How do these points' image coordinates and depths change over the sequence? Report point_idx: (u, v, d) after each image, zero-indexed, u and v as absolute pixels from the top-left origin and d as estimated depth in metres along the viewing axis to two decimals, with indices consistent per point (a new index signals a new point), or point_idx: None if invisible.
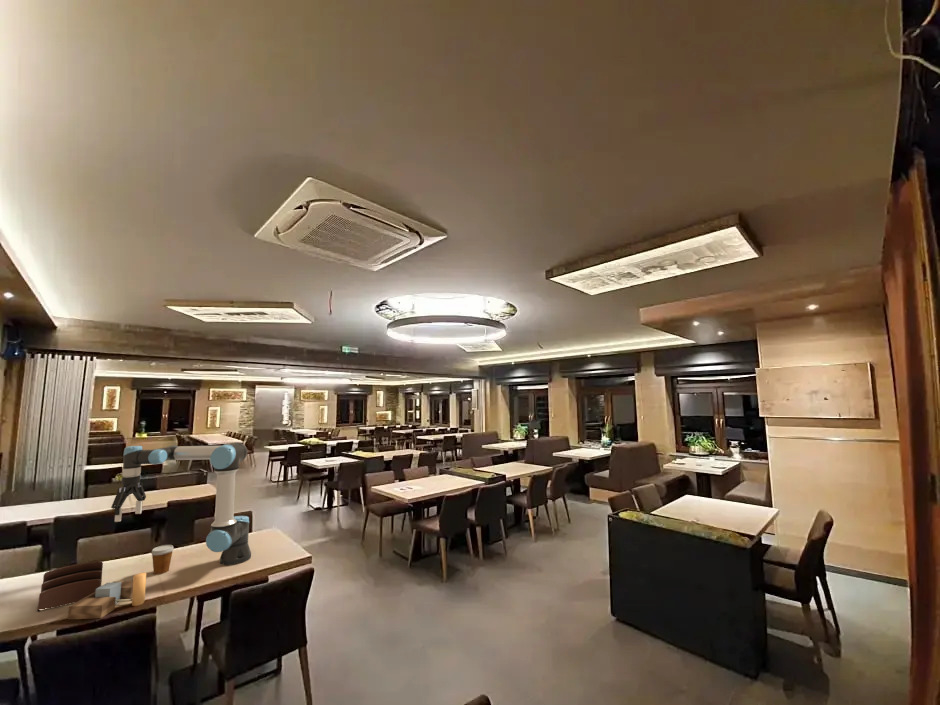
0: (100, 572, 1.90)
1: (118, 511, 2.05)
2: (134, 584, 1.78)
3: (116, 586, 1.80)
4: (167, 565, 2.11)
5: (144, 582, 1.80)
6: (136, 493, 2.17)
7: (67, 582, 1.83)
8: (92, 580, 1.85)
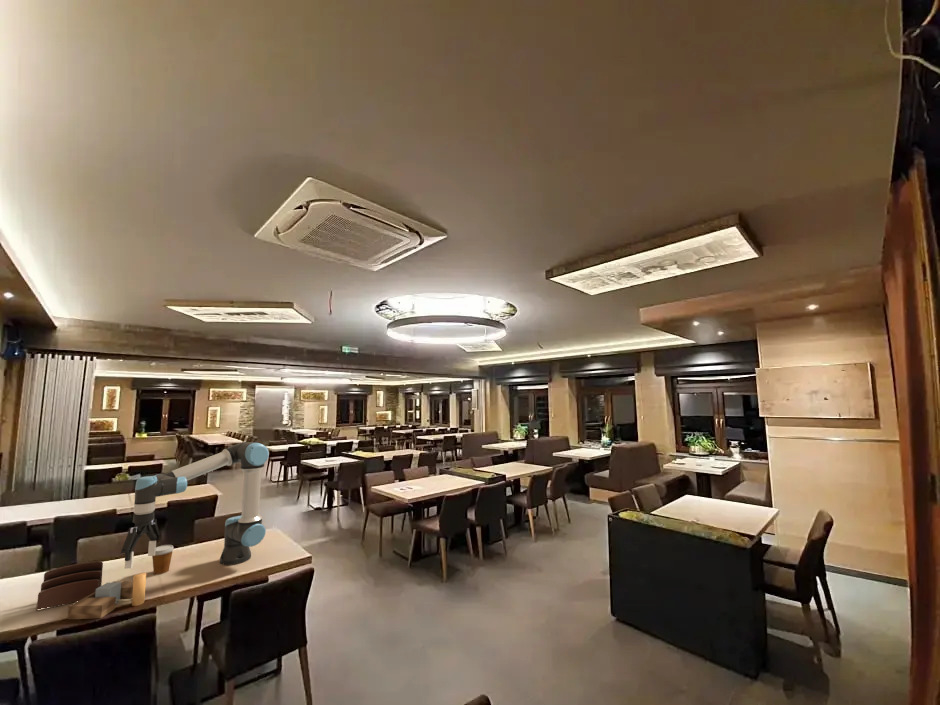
0: (99, 572, 1.90)
1: (128, 556, 1.73)
2: (134, 584, 1.78)
3: (116, 586, 1.80)
4: (167, 565, 2.11)
5: (144, 582, 1.80)
6: (149, 532, 1.85)
7: (67, 582, 1.83)
8: (91, 580, 1.85)
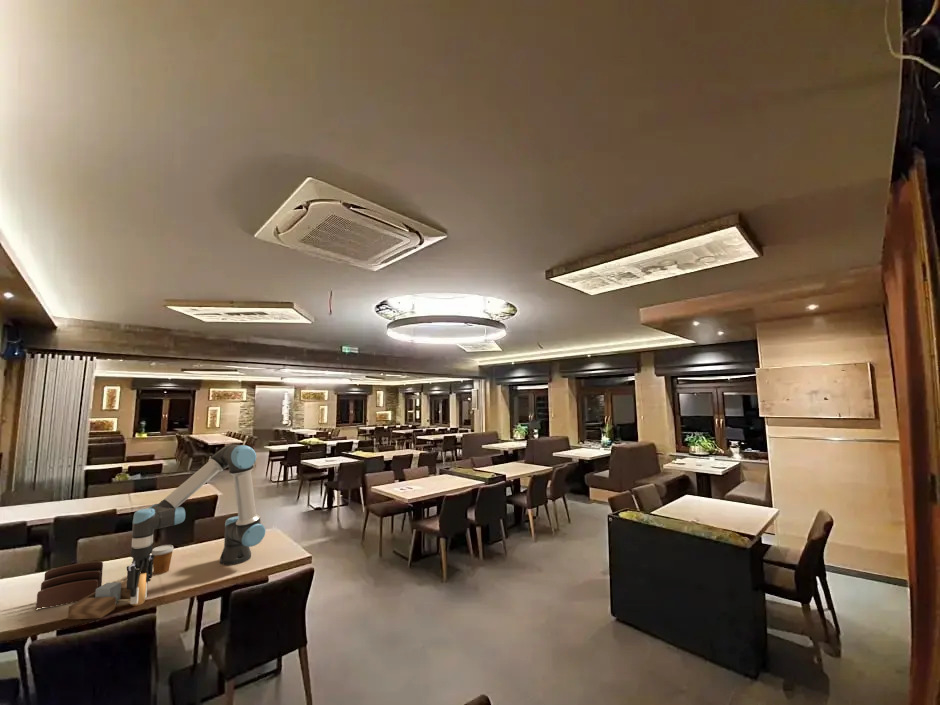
0: (99, 572, 1.89)
1: (134, 592, 1.76)
2: None
3: (116, 586, 1.80)
4: (167, 565, 2.11)
5: (144, 582, 1.80)
6: (144, 568, 1.82)
7: (66, 581, 1.83)
8: (89, 580, 1.84)
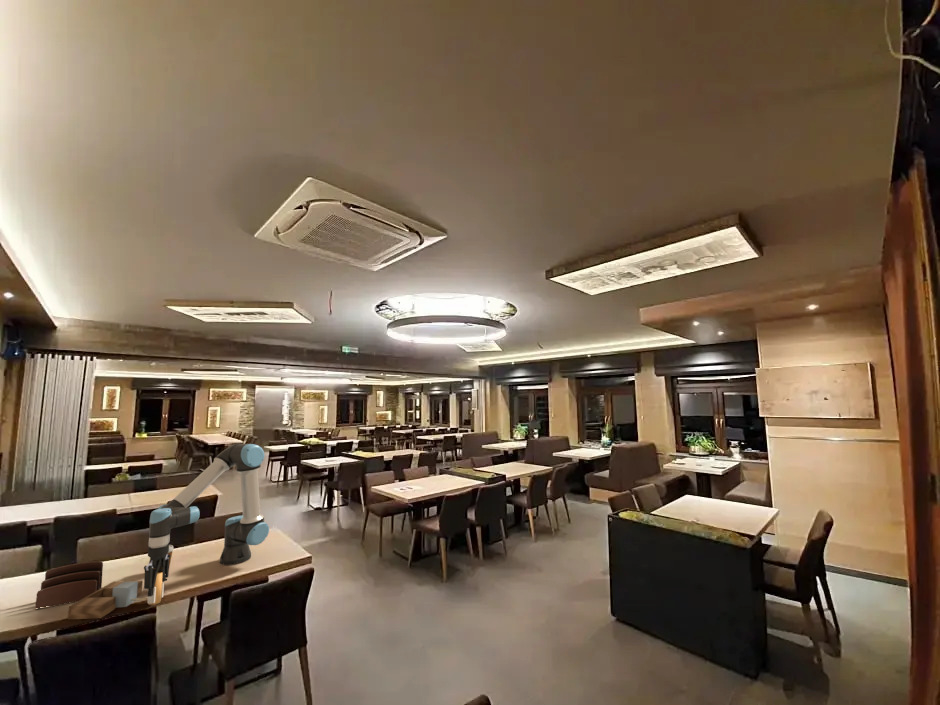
0: (98, 573, 1.89)
1: (151, 591, 1.76)
2: None
3: (133, 585, 1.80)
4: None
5: (160, 581, 1.80)
6: (161, 568, 1.82)
7: (66, 581, 1.84)
8: (88, 581, 1.84)
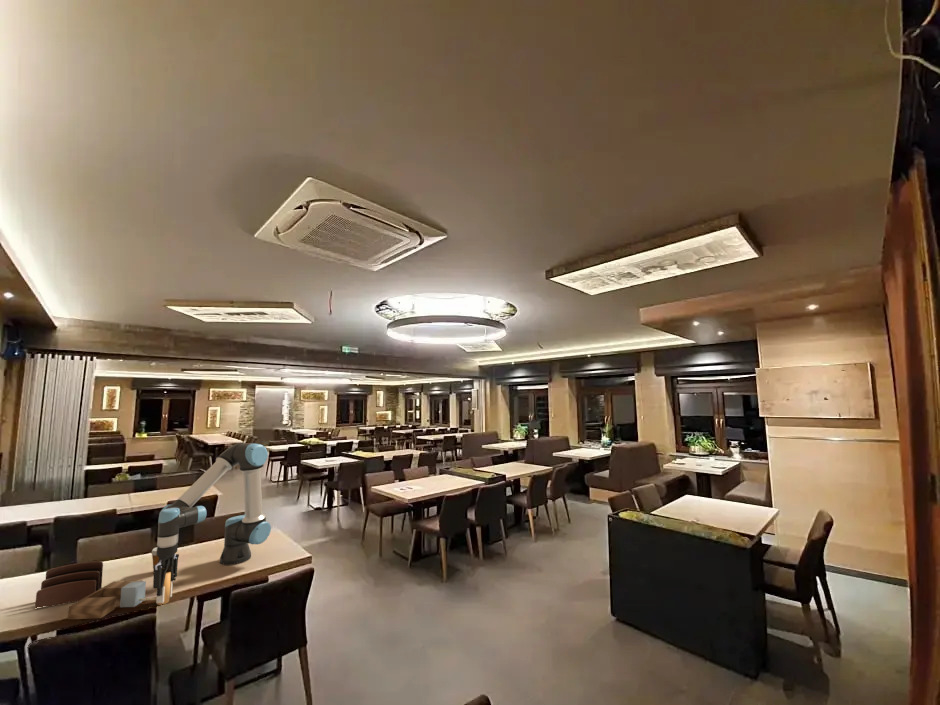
0: (98, 573, 1.89)
1: (160, 591, 1.76)
2: None
3: (141, 585, 1.80)
4: None
5: (168, 581, 1.80)
6: (170, 567, 1.83)
7: (66, 581, 1.84)
8: (88, 581, 1.84)
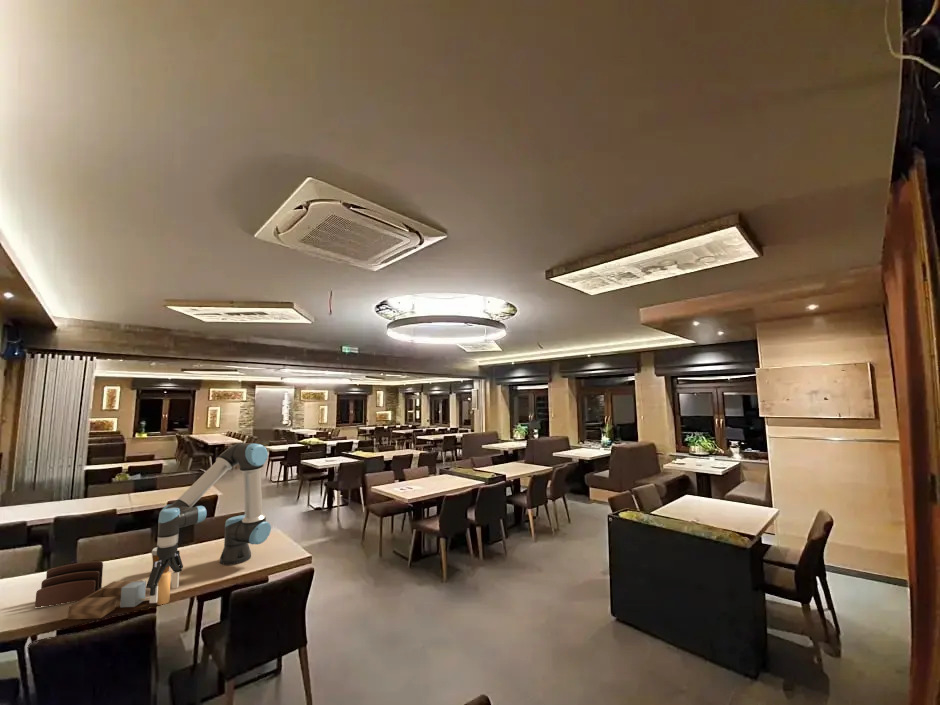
0: (97, 573, 1.89)
1: (153, 590, 1.72)
2: (159, 583, 1.78)
3: (141, 585, 1.80)
4: None
5: (168, 581, 1.80)
6: (173, 564, 1.85)
7: (66, 581, 1.84)
8: (87, 581, 1.84)
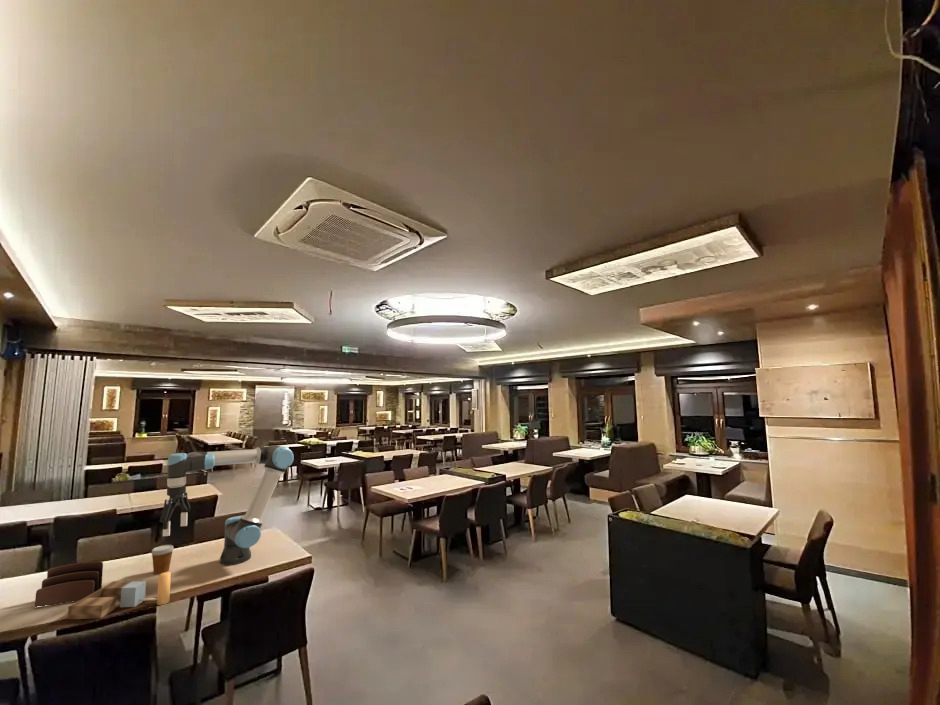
0: (97, 573, 1.89)
1: (166, 524, 1.89)
2: (159, 583, 1.78)
3: (141, 585, 1.80)
4: (167, 565, 2.11)
5: (168, 581, 1.80)
6: (182, 504, 2.01)
7: (66, 581, 1.84)
8: (86, 581, 1.84)
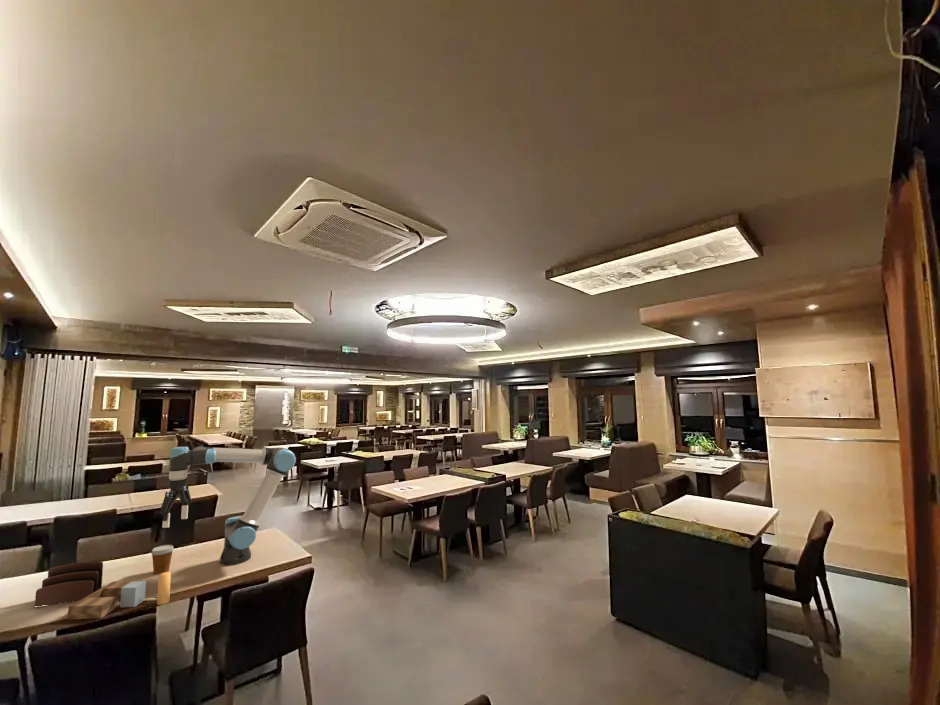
0: (97, 573, 1.89)
1: (166, 516, 1.92)
2: (159, 583, 1.78)
3: (141, 585, 1.80)
4: (167, 565, 2.11)
5: (168, 581, 1.80)
6: (182, 497, 2.05)
7: (66, 580, 1.84)
8: (85, 581, 1.84)
